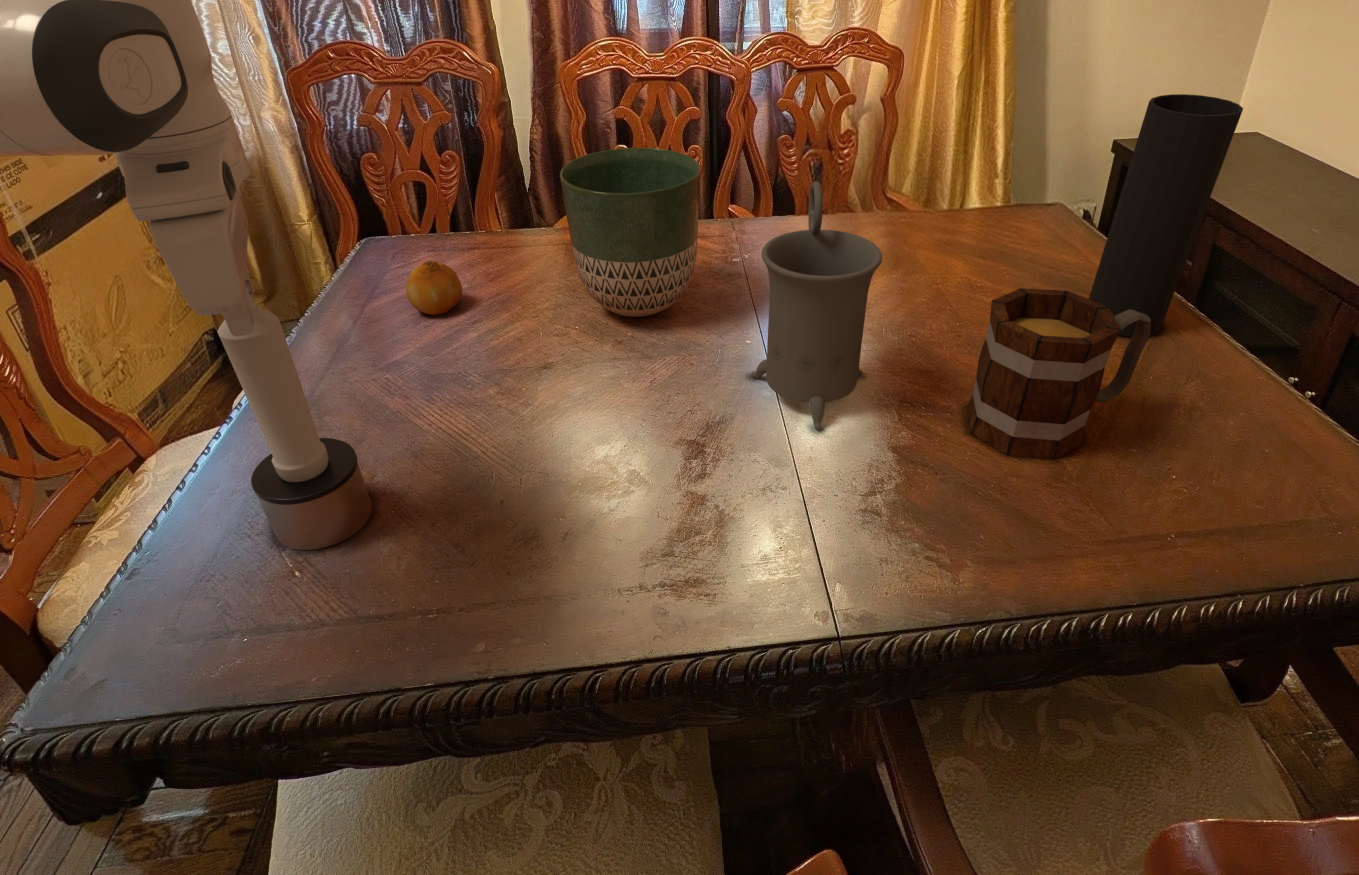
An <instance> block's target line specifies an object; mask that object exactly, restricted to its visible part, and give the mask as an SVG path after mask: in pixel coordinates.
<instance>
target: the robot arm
mask: <svg viewBox="0 0 1359 875" xmlns="http://www.w3.org/2000/svg"><path fill="white" fill-rule="evenodd" d="M212 61H213V60H212V54H211V50H210V47H209V45H208V42H207V39H206V36H205V33H204V30H203V28H202V25H201V22H200V19H199V17H198V14H197V12H196V9H195V6H194V4H193V2H192V0H0V156H1V157H2V156H3V157H5V156H6V157H7V156H8V157H9V156H11V157H12V156H13V157H17V156H18V157H26V156H27V157H57V156H78V157H79V156H106V155H112V154H114V157H115V160H116V163H117V165H118V168H119V170H120V172H121V175H122V178H123V182H124V191H125V197H126V201H127V203H128V206H129V209H130V210H131V212H132V215H133V217H134V218H135V220H136V221H138V222H148V227H149V230H150V234H151V236H152V239H153V241H154V243H155V245H156V248H157V250H158V252H159V253H160V256H161V258H162V260H163V261H164V263H165V265H166V268H167V270H168V272H169V274H171V277H172V279H173V281H174V283H175V284H176V286H177V289H178V290H179V292H180V294H181V295H182V297H183V299H184V301H185V302H186V304H187V305H188V307H189V308H190V309H191V310H192V311H193V312H194V313H195V314H196V315H198V316H200V317H207V316H208V317H209V316H214V315H220V316H221V317H222V318H223V320H226V323H227V325H228V327H229V330H230V332H231V334H232V335H233V336H237V337H238V336H243V335H248V334H251V333H252V332H253V330H254V322H253V319H252V317H251V314H250V311H249V309H248V308H247V307H246V305H245V286H246V287H247V290H248V292H249V295H250V298H251V300H252V302H253V301H254V300H255V292H256V291H255V289H254V286H253V283H252V281H251V278H250V273H249V268H248V262H247V261H248V243H249V242H248V241H249V221H248V217H247V214H246V210H245V207H244V204H243V202H242V199H241V197H242V190H241V185H242V182H244V181H245V180H247V179H248V178H249V176H250V175H251V172H252V170H251V166H250V163H249V161H248V159H247V158H248V157H247V155H246V152H245V150H244V146H243V144H242V141H241V138H240V135H239V132H238V129H237V127H236V126H237V125H236V123H235V120H234V118H233V114H232V111H231V109H230V107H229V105H228V103H227V102H226V99H224V97H223V96H222V94H221V92H220V91H219V89H218V87H217V85H216V82H215V78H214V74H213V64H212V63H213V62H212Z"/></svg>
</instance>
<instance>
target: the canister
mask: <svg viewBox="0 0 1359 875" xmlns="http://www.w3.org/2000/svg"><path fill="white" fill-rule="evenodd" d="M319 439H320V442H322V443H323V444H324V446H325V447H326V450H327V453H328V465H327V468H326V469H325V470H324V471H323V472H322V473H321V474H319V475H318V476H316V477H315V478H312V479H309V480H307V481H302V482H287V481H285V480H284V479H282V478H281V477H280V476H279V475H278V474H277V472H276V470H275V468H274V465H273V463H272V458H273V455H272V453H270V454H269V455H267V456H266V457H264V458H263V459H262V460H261V461H260V462H259V463H258V464H257V466H256V467H255V468H254V470H253V472H252V475H251V479H250V484H251V487H252V490H253V492H254V494H255V495H256V496H257V498H258V500H259V502H260V506H261V508H262V509H263V512H264V514H265V516H266V519H267V520H268V523H269V525H270V527H271V530H272V531H273V534H274V536H275V539H276V540H277V541H278V542H279V543H280V544H281V545H283V546H284V547H287V548H289V549H292V550H298V551H314V550H321V549H324V548H328V547H331V546H334V545H337V544H340V543H341V542H343V541H346V540H348V539H350V538H351V537H352V536H353V535H355V534H356V533H358V532H359V531H360V530H361V529H362V528H363V527H364V526H365V525H366V524H367V522H368V521H369V519H370V516H371V514H372V511H373V504H372V501H371V498H370V495H369V492H368V490H367V486H366V483H365V479H364V477H363V473H362V471H361V468H360V465H359V461H358V460H359V459H358V456H357V453H356V451H355V449H354V448H353V446H352V445H351V444H349V443H348V442H346V441H344V440H341V439H337V438H331V437H319Z"/></svg>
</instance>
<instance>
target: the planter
mask: <svg viewBox="0 0 1359 875" xmlns="http://www.w3.org/2000/svg"><path fill="white" fill-rule="evenodd" d="M559 178H560V184H561V192H562V198H563V202H564V208H565V214H566V221H567V225H568V226H567V227H568V234H569V238H570V244H571V250H572V255H573V260H574V261H573V262H574V264H575V268H576V271H577V275H578V277H579V279H580V281H581V284H582V285H583V287H584V289H585V291H586V292H587V294H588V295H589V296H590V297H591V298H592V299H593V300H594V301H595V302H596V303H597V304H598V305H600V306H601V307H603V308H604V309H606V310H607V311H610V312H612V313H613V314H616V315H619V316H623V317H629V318H642V317H643V318H644V317H650V316H652V315H656V314H659V313H661V312H663V311H665V310H667V309H668V308H670V307H671V306H672V305H673V304H675V303H676V302H677V301H678V300H679V299H680V298H681V296H683V294H684V293H685V292H686V290H687V289H688V287H689V285H690V283H691V280H692V278H693V274H694V271H695V267H696V262H697V253H698V238H699V237H698V236H699V220H700V218H699V215H700V213H699V212H700V193H701V165H700V164H699V162H698V161H697V160H696V159H694V158H693V157H691V156H689V155H687V154H685V153H681V152H678V151H674V150H669V149H662V148H654V147H627V148H626V147H624V148H623V147H622V148H614V149H607V150H600V151H597V152H592V153H588V154H584V155H582V156H579V157H577V158H574V159H572V160H571V161H569V162H567V163H566V164H564V166H563V167H562V168H561V170H560V172H559Z"/></svg>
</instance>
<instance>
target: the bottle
mask: <svg viewBox="0 0 1359 875" xmlns="http://www.w3.org/2000/svg"><path fill="white" fill-rule="evenodd" d="M245 305H246V307H247V308H248V309H249V311H250V314H251V317H252V319H253V322H254V330H253V332H252V333H251V334H248V335H243V336H238V337H237V336H233V335H232V334H231V332H230V330H229V327H228V325H227V323H226V320H225V319H223V321H222V323H221V324H220V326H219V328H218V330H217V334H218V337H219V339H220V341H221V342H222V346H223V347H224V350H225V352H226V354H227V357H228V359H229V362H230V364H231V365H232V368H233V370H234V373H235V375H236V377H237V380H238V381H239V384H240V386H241V388H242V390H243V393H244V395H245V397H246V399H247V401H248V405H249V406H250V408H251V411H252V413H253V415H254V417H255V420H256V422H257V424H258V426H259V429H260V431H261V433H262V435H263V436H264V437H263V438H264V440H265V442H266V444H267V446H268V449H269V451H270V454H272V455H273V458H272V463H273V465H274V468H275V470H276V472H277V474H278V475H279V476H280V477H281V478H282V479H284V480H285V481H287V482H302V481H307V480H309V479H312V478H315V477H316V476H318V475H319V474H321V473H322V472H323V471H324V470H325V469H326V468H327V465H328V453H327V450H326V447H325V446H324V444H323V443H322V442H320V439H319V438H320V436H319V433H318V430H317V428H316V425H315V421H314V419H313V416H312V413H311V409H310V407H309V404H308V401H307V398H306V395H305V391H304V389H303V386H302V383H301V380H300V377H299V374H298V371H297V368H296V365H295V362H294V360H293V356H292V353H291V351H290V347H289V345H288V342H287V338H286V335H285V332H284V329H283V326H282V324H281V321H280V318H279V316H278V315H277V314H274V313H272V312H269V311H267V310H264V309H261V308H260V307H259V305H258V303H256V302H253V301H252V300H251V298H250V295H249V292H248V290H247V287H246V286H245Z"/></svg>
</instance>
